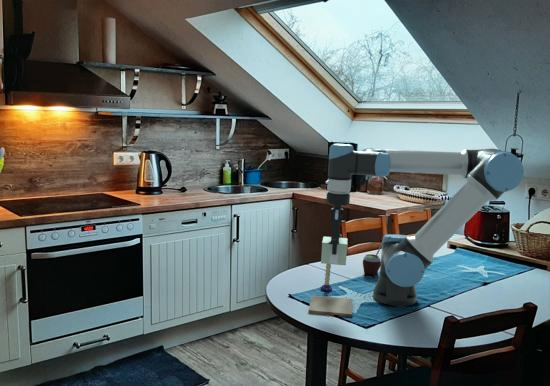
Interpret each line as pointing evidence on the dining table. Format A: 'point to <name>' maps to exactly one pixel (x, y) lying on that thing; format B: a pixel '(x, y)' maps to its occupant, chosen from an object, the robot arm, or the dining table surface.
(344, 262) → the sage block
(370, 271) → the mate gourd
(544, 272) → the dining table surface
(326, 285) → the toy lamp
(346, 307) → the walnut board
